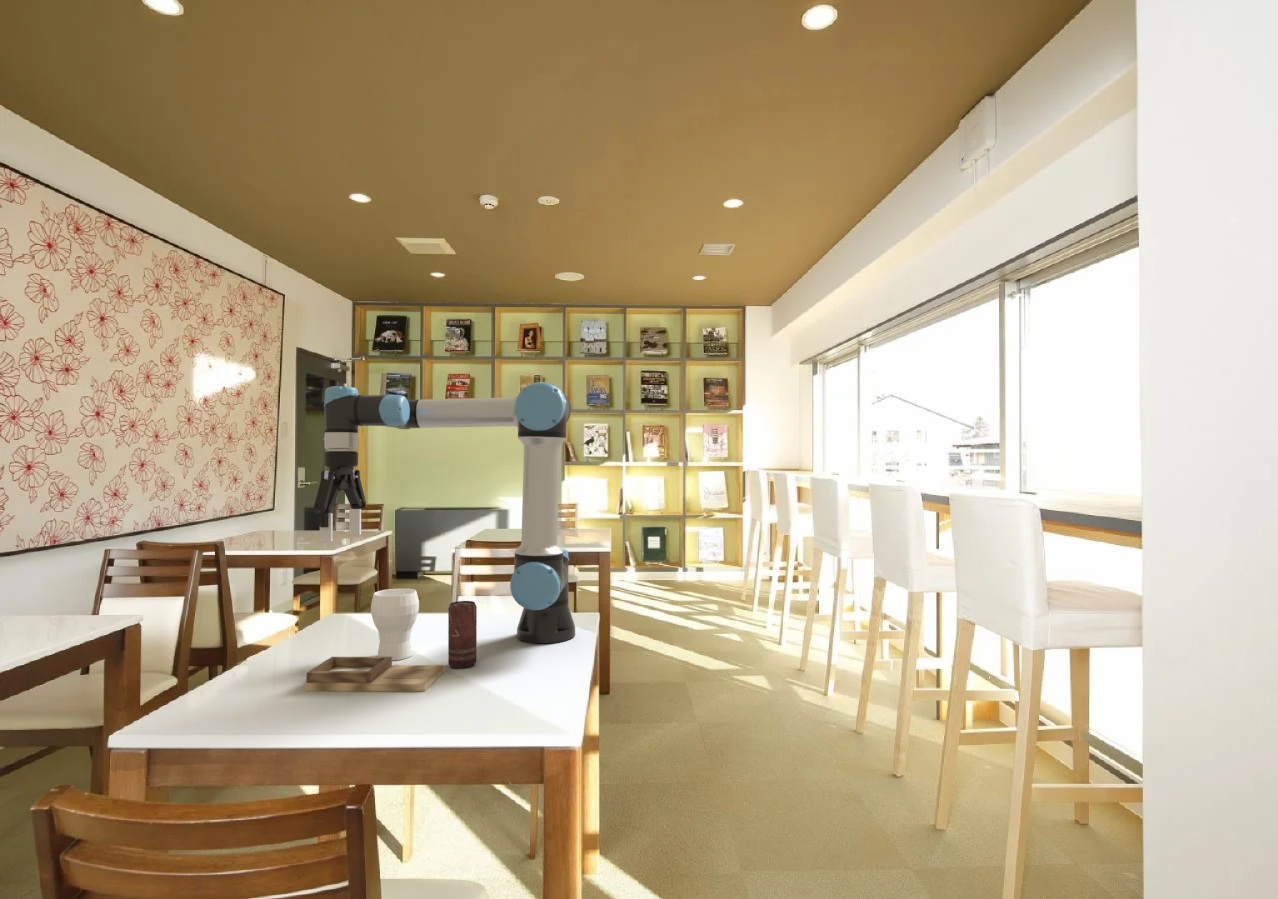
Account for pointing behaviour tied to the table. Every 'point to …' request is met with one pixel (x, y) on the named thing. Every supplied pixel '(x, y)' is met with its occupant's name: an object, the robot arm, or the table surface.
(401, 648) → the cup
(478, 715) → the table surface
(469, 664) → the can
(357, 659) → the holder board
